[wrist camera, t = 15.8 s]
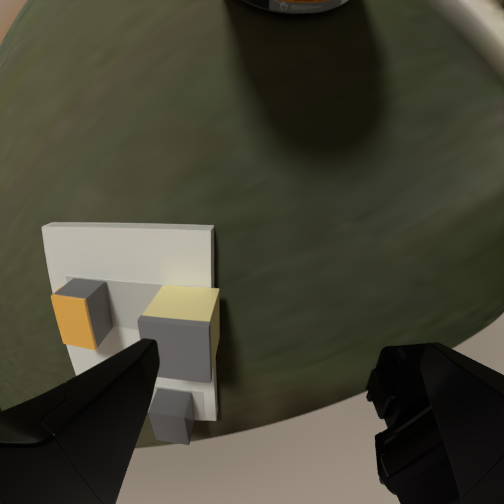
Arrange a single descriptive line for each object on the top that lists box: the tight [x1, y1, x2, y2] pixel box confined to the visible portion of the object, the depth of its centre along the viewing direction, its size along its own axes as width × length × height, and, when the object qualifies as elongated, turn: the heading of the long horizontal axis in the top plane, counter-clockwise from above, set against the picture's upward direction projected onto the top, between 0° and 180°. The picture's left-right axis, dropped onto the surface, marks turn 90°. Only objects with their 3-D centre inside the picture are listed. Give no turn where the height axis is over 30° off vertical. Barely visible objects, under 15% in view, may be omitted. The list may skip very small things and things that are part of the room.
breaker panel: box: [42, 222, 218, 421], centre depth 23 cm, size 14×18×2 cm
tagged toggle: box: [51, 278, 113, 350], centre depth 20 cm, size 3×4×3 cm
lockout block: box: [137, 285, 220, 383], centre depth 19 cm, size 4×4×5 cm
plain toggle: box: [148, 388, 194, 445], centre depth 23 cm, size 3×4×3 cm
